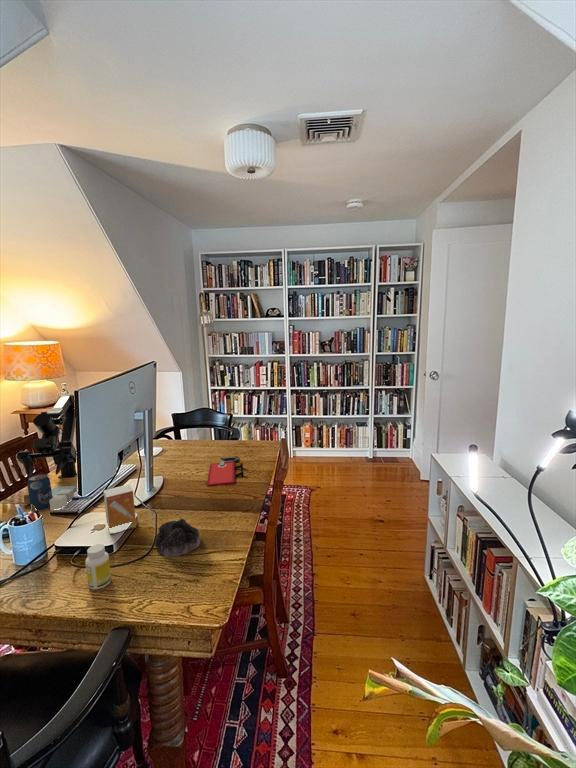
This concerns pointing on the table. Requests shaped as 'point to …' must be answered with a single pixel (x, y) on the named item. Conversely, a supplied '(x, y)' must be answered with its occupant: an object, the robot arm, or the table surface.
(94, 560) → the supplement bottle
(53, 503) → the off-white block
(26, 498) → the walnut block
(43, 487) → the soda can
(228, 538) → the table surface
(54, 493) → the slate tile
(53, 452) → the robot arm
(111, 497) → the small box
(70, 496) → the grey block
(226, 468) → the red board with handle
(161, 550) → the crystal cluster
